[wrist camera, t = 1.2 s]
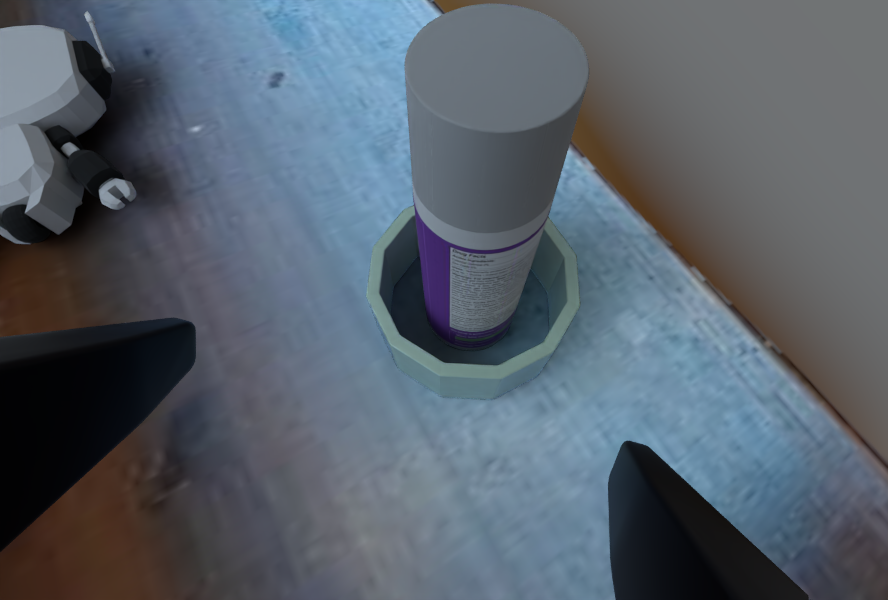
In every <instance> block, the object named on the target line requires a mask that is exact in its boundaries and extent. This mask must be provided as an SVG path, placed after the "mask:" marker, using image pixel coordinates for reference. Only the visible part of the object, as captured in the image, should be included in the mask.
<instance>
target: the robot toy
mask: <svg viewBox="0 0 888 600" xmlns="http://www.w3.org/2000/svg"><path fill="white" fill-rule="evenodd" d="M85 17H86V20H87V22H88V23H89V25H90V27H91V30H92V32H93V35H94V37H95V40H96V43H97V45H98V48H99V50H100V53H101V55H102V57H101V56H100V54H99V53H98V52H97V51H96V50H95V49H94V48H93V47H92V46H91V45H90V44H89V43H88V42H86V41H77V40H76V39H75V38H74V37H73V36H72V35H70V34H69V33H68V32H67V31H66V30H64V29H58V28H52V27H47V26H44V25H31V26H14V27H8V28H2V29H0V235H1V236H3V237H5V238H7V239H9V240H10V241H12V242H14V243H17V244H31V243H38V242H41V241H43V240H45V239H46V238H47V237H48V236H49V235H50V232H51V230H52V231H53V232H55V233H56V234H58V235H59V234H60V233H62V232H63V231H64V230H65V229H67V228H68V227H69V226H71V225H72V221H73V217H74V213H75V209H76V207H78V206H80V205H81V204H83V203H82V201H81V200H82V197H83V191H84V187H85V188H86V189H87V190H88V191H89V192H90V193H91V194H92V195H93V196H95V197H97V198H100V199H101V203H102V204H103V205H105V206H107V207H109V208H111V209H115V210H118V209H121V208H123V207H124V206H126V205H125V204H123V203H122V201H120V200H119V199H120V198H122V197H123V196H125V198H127V199H128V200H129V201H130V202H131V201H132V200H133V199H135V197H136V190H135V189H134V187H133V185H132V183H131V182H129V181H126V180H125V178H124V177H123V175H122V174H121V173H120V172H119V171H118V170H117V169H116V168H115V167H114V166H113V165H112V164H111V163H109V162H108V161H107V160H106V159H105V158H104V157H102V156H100V155H99V154H97V153H95V152H93V151H89V150H82V149H83V146H82V145H81V143H80V141H79V140H78V139H77V138H76V137H77V136H79V135H80V134H82V133H84V132H86V131H87V130H89V129H90V128H92V127H93V126H94V124H95V123H96V122H97V121H98V120H99V118H100V117H101V116H102V115H103V114H104V112H105V111H106V105H105V100H106V99H108V98H109V97H110V95H111V83H112V79H111V75H110V73H113V72H115V70H114V67H113V65H112V63H111V62H110V61H109V59H108V58H107V55H106V53H105V50H104V48H103V45H102V42H101V40H100V37H99V35H98V32H97V30H96V27H95V22H94V20H93V18H92V16H91V15H90V14H89V13H88V12H87V11H86V13H85Z"/></svg>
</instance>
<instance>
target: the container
mask: <svg viewBox="0 0 888 600" xmlns="http://www.w3.org/2000/svg"><path fill="white" fill-rule="evenodd" d="M588 79H589V63H588V59H587V55H586V53H585V50H584V48H583V46H582V45H581V43H580V42H579V40H578V39H577V38H576V36H575V35H574V34H573V33H572V32H571V31H570V30H569V29H567V28H566V27H565V26H564V25H562V24H561V23H560V22H558V21H556V20H555V19H553V18H551V17H549V16H547V15H545V14H543V13H540V12H538V11H535V10H532V9H528V8H525V7H520V6H515V5H509V4H480V5H473V6H467V7H463V8H459V9H456V10H453V11H450V12H448V13H445V14H443V15H441V16H439V17H437V18H436V19H434V20H433V21H431V22H430V23H428V24H427V25H426V26H425V27H423V28H422V29H421V30H420V31H419V32H418V34H417V35H416V36H415V37H414V39H413V40H412V42H411V44H410V46H409V48H408V50H407V54H406V58H405V80H406V95H407V109H408V124H409V138H410V153H411V167H412V182H413V200H414V208H415V217H416V226H417V235H418V244H419V253H420V262H421V271H422V279H423V288H424V297H425V306H426V314H427V319H428V322H429V325H430V327H431V329H432V330H433V332H434V333H435V335H436V336H437V337H438V338H439V339H440V340H442V341H443V342H444V343H446V344H447V345H449V346H451V347H454V348H457V349H460V350H467V351H474V350H481V349H484V348H487V347H490V346H492V345H493V344H495V343H497V342H498V341H499V340H500V339H501V338H502V337H503V336H504V335H505V334H506V332H507V331H508V329H509V327H510V325H511V322H512V320H513V317H514V314H515V311H516V308H517V305H518V303H519V300H520V297H521V294H522V291H523V288H524V285H525V282H526V279H527V276H528V273H529V271H530V268H531V265H532V262H533V259H534V256H535V253H536V250H537V247H538V244H539V242H540V239H541V236H542V233H543V230H544V227H545V224H546V221H547V218H548V215H549V212H550V209H551V206H552V202H553V199H554V195H555V192H556V188H557V185H558V182H559V178H560V175H561V171H562V168H563V165H564V161H565V158H566V155H567V151H568V148H569V144H570V141H571V138H572V134H573V131H574V127H575V124H576V121H577V117H578V114H579V110H580V107H581V104H582V100H583V97H584V94H585V90H586V87H587V83H588Z"/></svg>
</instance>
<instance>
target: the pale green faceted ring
mask: <svg viewBox="0 0 888 600" xmlns="http://www.w3.org/2000/svg"><path fill="white" fill-rule="evenodd" d="M418 256H420V253H419V244H418V235H417V226H416V217H415V208H414V205H413V206H411V207H408V208H406V209H404V210H403V211H402V212H401V214H400V215H399V216H398V217H397V219H396V220H395V221H394V222H393V223H392V225H391V226H390V227H389V228H388V229H387V231H386V232H385V233H384V234H383V235H382V237H381V238H380V239H379V240H378V241H377V243H376V244H375V245H374V247H373V249H372V257H371V264H370V271H369V279H368V286H367V293H366V296H367V300H368V302H369V305H370V308H371V310H372V313H373V316H374V318H375V321H376V323H377V326H378V329H379V331H380V333H381V335H382V337H383V339H384V341H385V343H386V345H387V347H388V349H389V352H390V354H391V356H392V358H393V360H394V362H395V364H396V366H397V368H398V369H399V371H401V372H403V373H404V374H406V375H407V376H409V377H410V378H412V379H413V380H415V381H416V382H418V383H420V384H421V385H423V386H424V387H426V388H427V389H429V390H430V391H432V392H433V393H435V394H437V395H438V396H440V397H447V398H467V399H487V400H493V399H496V398H497V397H499V396H501V395H503V394H505V393H507V392H509V391H511V390H513V389H515V388H517V387H518V386H520V385H522V384H524V383H526V382H528V381H530V380H532V379H534V378H536V377H537V376H538V375H539V374H540V372H541V371H542V369H543V368H544V366H545V365H546V363H547V362H548V360H549V359H550V357H551V356H552V354H553V353H554V351H555V350H556V348H557V346H558V344H559V343H560V341H561V339H562V337H563V336H564V334H565V332H566V330H567V329H568V327H569V325H570V323H571V322H572V320H573V318H574V316H575V315H576V313H577V311H578V310H579V308H580V293H579V280H578V267H577V256H576V254H575V253H574V251H573V250H572V248H571V247H570V246H569V244H568V243H567V242H566V240H565V239H564V237H563V236H562V235H561V233H560V232H559V231H558V229H557V228H556V226H555V225H554V224H553V222H552V221H551V220H550V218H549V217H548V218H547V221H546V224H545V227H544V230H543V233H542V236H541V239H540V242H539V244H538V247H537V250H536V253H535V256H534V259H533V262H532V265H531V270H532V271H533V273H534V274H535V276H536V277H537V279H538V280H539V282H540V283H541V285H542V286H543V288H544V289H545V291H546V292H547V294H548V313H549V333H548V335H547V336H546V338H545V340H544V341H543V342H542V343H540V344H539V345H537V346H535V347H533V348H531V349H529V350H527V351H525V352H523V353H521V354H519V355H517V356H515V357H513V358H511V359H509V360H507V361H505V362H503V363H501V364H499V365H482V364H461V363H444V362H442V361H441V360H439V359H438V358H436V357H434V356H433V355H431V354H430V353H428V352H426V351H425V350H423V349H422V348H420V347H418V346H417V345H415V344H414V343H412V342H410V341H409V340H407V339H406V338H404V337H402V336H401V335H400V333H399V331H398V329H397V327H396V325H395V323H394V321H393V319H392V317H391V307H392V298H393V289H394V286H395V285H396V283H397V282H398V281H399V279H400V278H401V277H402V276H403V274H404V273H405V272H406V270H407V269H408V268H409V266H410V265H411V264H412V263H413V261H414V260H415V259H416V257H418Z"/></svg>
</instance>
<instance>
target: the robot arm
mask: <svg viewBox="0 0 888 600" xmlns="http://www.w3.org/2000/svg"><path fill="white" fill-rule="evenodd" d="M195 358H196V330H195V326H194V324H193V323H191V322H189V321H186V320H182V319H178V318H165V319H156V320H148V321H139V322H130V323H121V324H113V325H104V326H95V327H86V328H77V329H69V330H60V331H51V332H42V333H33V334H25V335H16V336H7V337H0V552H1V551H2V550H3V549H4V548H5V547H7V546H8V545H9V544H10V543H11V542H12V541H13V540H14V539H15V538H16V537H17V536H19V535H20V534H21V533H22V532H23V531H24V530H25V529H26V528H27V527H28V526H30V525H31V524H32V523H33V522H34V521H35V520H36V519H37V518H38V517H39V516H40V515H42V514H43V513H44V512H45V511H46V510H47V509H48V508H49V507H50V506H51V505H52V504H54V503H55V502H56V501H57V500H58V499H59V498H60V497H61V496H62V495H63V494H65V493H66V492H67V491H68V490H69V489H70V488H71V487H72V486H73V485H74V484H75V483H77V482H78V481H79V480H80V479H81V478H82V477H83V476H84V475H85V474H86V473H87V472H89V471H90V470H91V469H92V468H93V467H94V466H95V465H96V464H97V463H98V462H100V461H101V460H102V459H103V458H104V457H105V456H106V455H107V454H108V453H109V452H110V451H112V450H113V449H114V448H115V447H116V446H117V445H118V444H119V443H120V442H121V441H122V440H124V439H125V438H126V437H127V436H128V435H129V434H130V433H131V432H132V431H133V430H134V429H135V428H137V427H138V426H139V425H140V424H141V423H142V422H143V421H144V420H145V419H146V418H147V417H148V416H149V414H150V413H151V412H152V411H153V410H154V409H155V408H156V407H157V406H158V405H159V404H160V402H161V401H162V400H163V399H164V398H165V397H166V396H167V395H168V394H169V393H170V391H171V390H172V389H173V388H174V387H175V386H176V385H177V384H178V383H179V381H180V380H181V379H182V378H183V377H184V376H185V375H186V374H187V373H188V372H189V370H190V369H191V368H192V366H193V365H194V362H195ZM608 502H609V536H610V560H611V570H612V578H613V585H614V592H615V598H616V600H809V597H808V595H807V594H806V593H805V592H804V591H803V590H802V589H801V588H800V587H799V586H798V585H797V584H795V583H794V582H793V581H792V580H791V579H790V578H789V577H788V576H787V575H786V574H785V573H784V572H783V571H782V570H780V569H779V568H778V567H777V566H776V565H775V564H774V563H773V562H772V561H771V560H770V559H769V558H768V557H766V556H765V555H764V554H763V553H762V552H761V551H760V550H759V549H758V548H757V547H756V546H755V545H754V544H753V543H751V542H750V541H749V540H748V539H747V538H746V537H745V536H744V535H743V534H742V533H741V532H740V531H739V530H738V529H736V528H735V527H734V526H733V525H732V524H731V523H730V522H729V521H728V520H727V519H726V518H725V517H724V516H722V515H721V514H720V513H719V512H718V511H717V510H716V509H715V508H714V507H713V506H712V505H711V504H710V503H709V502H707V501H706V500H705V499H704V498H703V497H702V496H701V495H700V494H699V493H698V492H697V491H696V490H695V489H694V488H692V487H691V486H690V485H689V484H688V483H687V482H686V481H685V480H684V479H683V478H682V477H681V476H680V475H679V474H677V473H676V472H675V471H674V470H673V469H672V468H671V467H670V466H669V465H668V464H667V463H666V462H665V461H663V460H662V459H661V458H660V457H659V456H658V455H657V454H656V453H655V452H654V451H653V450H652V449H651V448H650V447H648V446H646V445H643V444H640V443H636V442H632V441H625V442H624V443H623V444H622V446H621V448H620V450H619V453H618V455H617V458H616V460H615V463H614V466H613V468H612V471H611V473H610V476H609V481H608Z"/></svg>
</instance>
